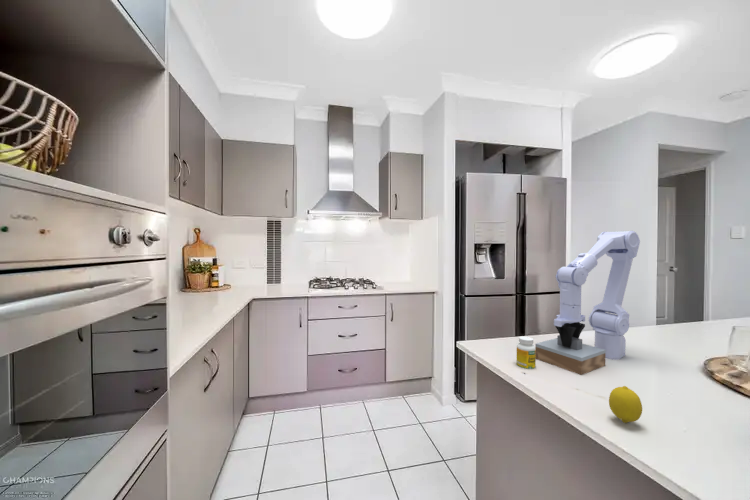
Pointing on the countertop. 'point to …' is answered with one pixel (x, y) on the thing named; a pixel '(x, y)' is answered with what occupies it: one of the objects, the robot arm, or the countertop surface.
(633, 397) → the lemon
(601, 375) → the countertop surface
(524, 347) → the supplement bottle
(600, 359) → the box
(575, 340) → the lid
